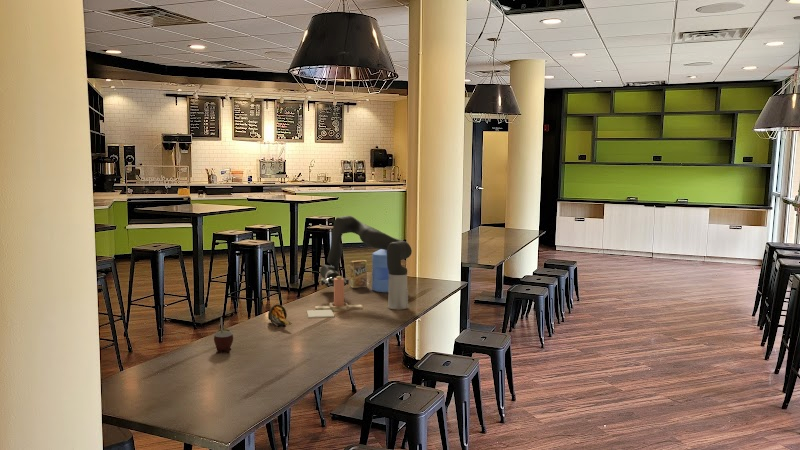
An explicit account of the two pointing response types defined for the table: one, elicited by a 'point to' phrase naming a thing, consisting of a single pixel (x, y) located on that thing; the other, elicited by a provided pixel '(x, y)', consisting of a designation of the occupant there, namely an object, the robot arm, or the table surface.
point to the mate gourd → (223, 339)
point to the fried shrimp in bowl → (278, 315)
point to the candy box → (358, 273)
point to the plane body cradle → (338, 307)
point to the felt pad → (319, 313)
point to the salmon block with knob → (338, 291)
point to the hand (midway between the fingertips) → (336, 284)
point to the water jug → (380, 271)
